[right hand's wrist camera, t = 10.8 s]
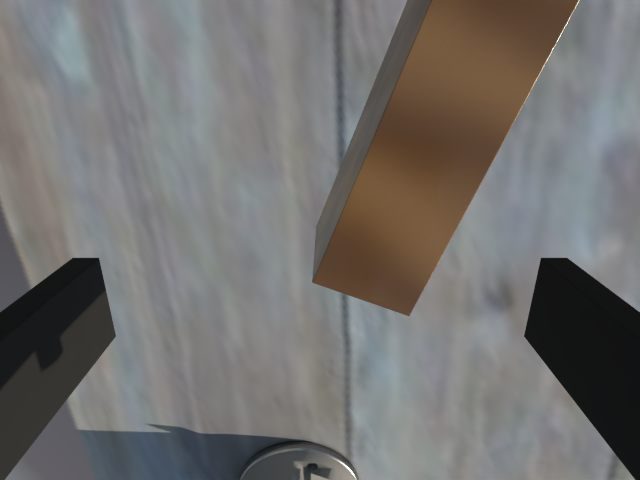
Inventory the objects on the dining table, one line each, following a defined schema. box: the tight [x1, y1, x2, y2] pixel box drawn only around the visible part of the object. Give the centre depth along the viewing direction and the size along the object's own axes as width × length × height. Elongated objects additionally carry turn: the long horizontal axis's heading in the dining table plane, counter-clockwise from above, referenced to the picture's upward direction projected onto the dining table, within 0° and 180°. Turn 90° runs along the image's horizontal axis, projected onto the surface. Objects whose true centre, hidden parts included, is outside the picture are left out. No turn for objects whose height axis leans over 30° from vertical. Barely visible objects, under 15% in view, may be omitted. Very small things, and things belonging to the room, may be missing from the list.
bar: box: [312, 0, 579, 316], centre depth 20 cm, size 26×5×8 cm, turn 159°
